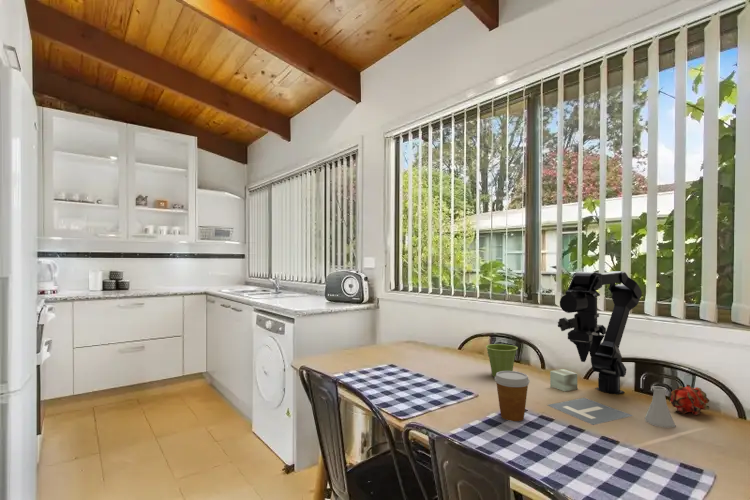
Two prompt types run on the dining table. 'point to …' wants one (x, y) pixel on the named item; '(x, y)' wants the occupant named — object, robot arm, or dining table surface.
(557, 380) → the sage block
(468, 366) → the dining table surface
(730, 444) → the dining table surface
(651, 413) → the flask
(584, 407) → the board
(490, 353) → the plant pot
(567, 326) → the robot arm
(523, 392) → the disposable coffee cup
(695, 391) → the dragon fruit
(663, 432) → the dining table surface
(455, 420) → the dining table surface
